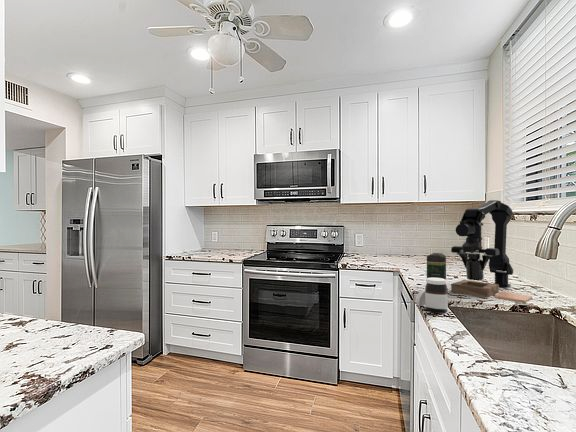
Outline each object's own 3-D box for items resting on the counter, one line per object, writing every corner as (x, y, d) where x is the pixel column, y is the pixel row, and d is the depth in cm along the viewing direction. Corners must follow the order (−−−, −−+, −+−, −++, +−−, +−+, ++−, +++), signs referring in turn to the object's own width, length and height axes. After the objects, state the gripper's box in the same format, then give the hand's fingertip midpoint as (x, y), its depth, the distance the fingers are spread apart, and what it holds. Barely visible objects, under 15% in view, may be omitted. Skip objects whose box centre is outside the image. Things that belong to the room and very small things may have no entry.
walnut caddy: (464, 286, 159) (463, 279, 159) (498, 291, 147) (498, 284, 147) (451, 291, 149) (451, 284, 149) (487, 297, 137) (487, 289, 137)
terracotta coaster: (502, 293, 144) (502, 291, 144) (532, 298, 136) (532, 296, 136) (494, 297, 137) (494, 295, 137) (525, 302, 129) (525, 300, 129)
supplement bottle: (479, 277, 151) (478, 252, 151) (486, 280, 144) (485, 254, 144) (463, 277, 152) (463, 252, 152) (470, 280, 145) (469, 254, 145)
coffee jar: (444, 297, 138) (444, 254, 138) (425, 295, 143) (424, 253, 143) (447, 292, 146) (447, 252, 146) (429, 290, 151) (428, 251, 151)
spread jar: (447, 315, 114) (446, 282, 114) (413, 310, 119) (413, 279, 119) (448, 306, 124) (448, 276, 124) (417, 303, 130) (417, 274, 130)
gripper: (446, 235, 150) (446, 268, 150) (491, 237, 136) (491, 273, 136) (455, 234, 157) (456, 266, 157) (499, 236, 143) (499, 270, 143)
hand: (474, 269), depth 148 cm, fingers closed on supplement bottle, 7 cm apart
